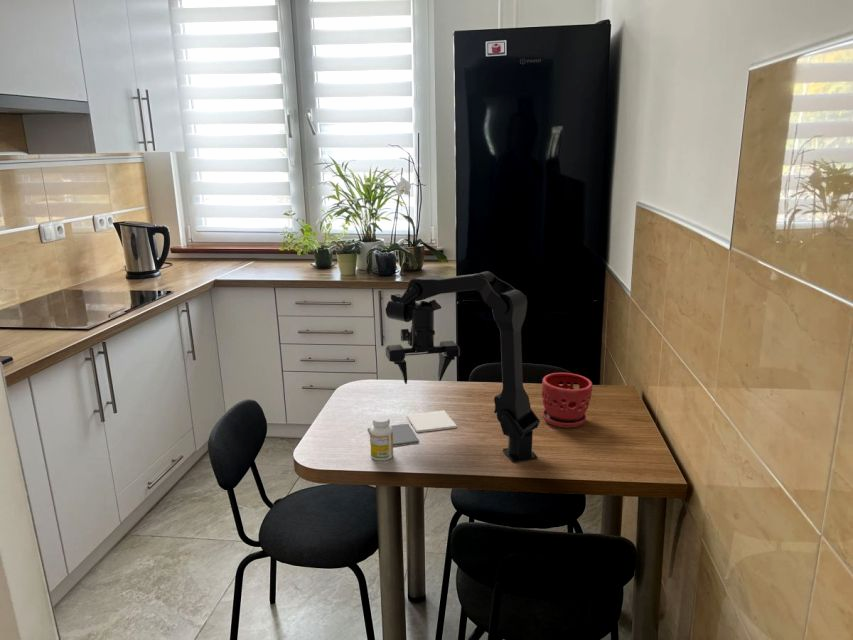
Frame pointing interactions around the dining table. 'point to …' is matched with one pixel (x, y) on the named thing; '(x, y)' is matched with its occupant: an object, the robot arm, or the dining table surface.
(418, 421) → the offwhite coaster
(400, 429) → the slate coaster
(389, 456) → the supplement bottle
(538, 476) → the dining table surface
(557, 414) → the plant pot
